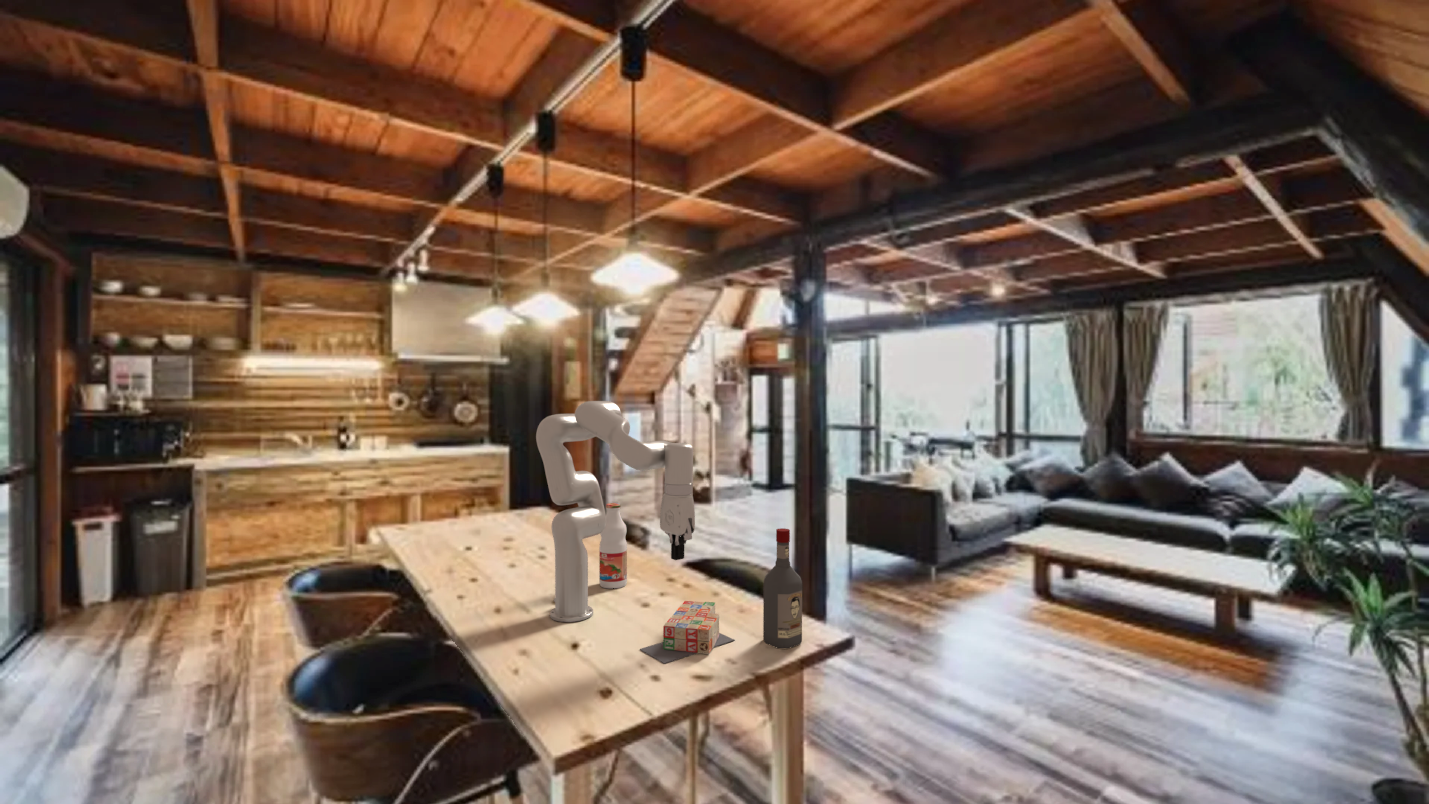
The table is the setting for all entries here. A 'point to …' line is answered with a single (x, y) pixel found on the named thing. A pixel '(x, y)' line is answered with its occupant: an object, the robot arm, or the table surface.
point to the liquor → (782, 599)
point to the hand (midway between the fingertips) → (677, 558)
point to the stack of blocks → (692, 628)
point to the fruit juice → (613, 550)
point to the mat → (670, 655)
